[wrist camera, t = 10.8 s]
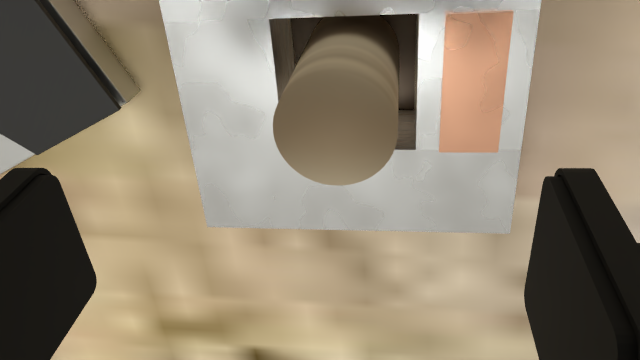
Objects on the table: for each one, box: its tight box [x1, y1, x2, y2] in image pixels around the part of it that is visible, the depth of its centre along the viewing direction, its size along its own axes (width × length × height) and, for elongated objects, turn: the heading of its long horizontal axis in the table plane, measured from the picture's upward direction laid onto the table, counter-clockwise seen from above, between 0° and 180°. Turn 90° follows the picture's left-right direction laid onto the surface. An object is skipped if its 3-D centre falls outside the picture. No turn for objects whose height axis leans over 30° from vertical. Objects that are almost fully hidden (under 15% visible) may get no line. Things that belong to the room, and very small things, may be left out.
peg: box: [273, 15, 399, 186], centre depth 19 cm, size 4×4×7 cm
